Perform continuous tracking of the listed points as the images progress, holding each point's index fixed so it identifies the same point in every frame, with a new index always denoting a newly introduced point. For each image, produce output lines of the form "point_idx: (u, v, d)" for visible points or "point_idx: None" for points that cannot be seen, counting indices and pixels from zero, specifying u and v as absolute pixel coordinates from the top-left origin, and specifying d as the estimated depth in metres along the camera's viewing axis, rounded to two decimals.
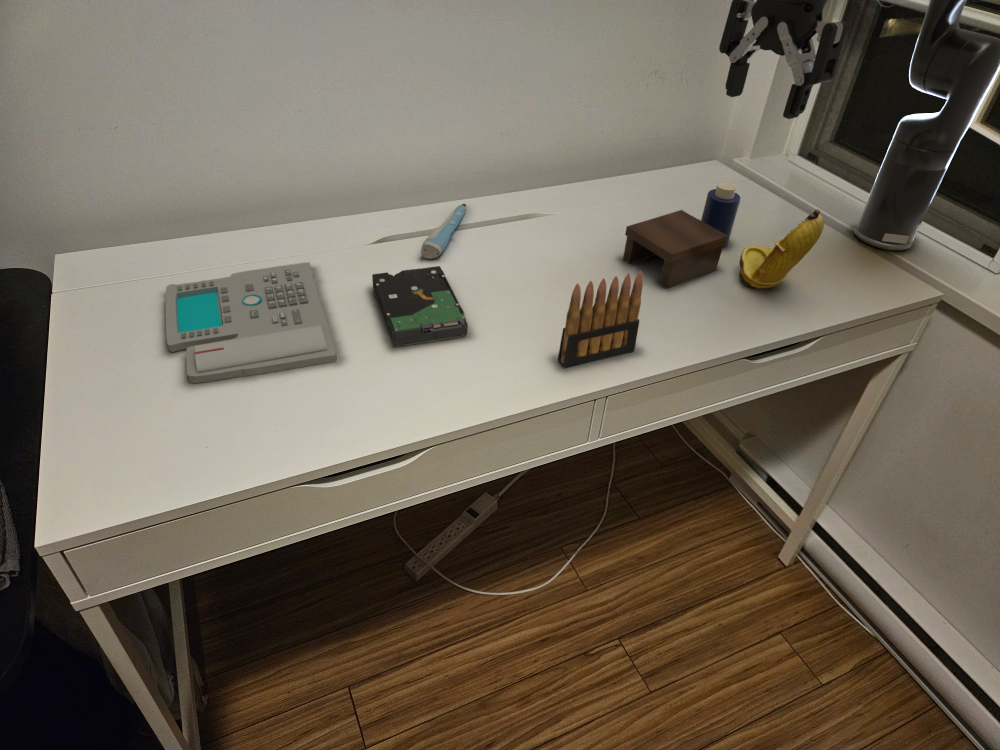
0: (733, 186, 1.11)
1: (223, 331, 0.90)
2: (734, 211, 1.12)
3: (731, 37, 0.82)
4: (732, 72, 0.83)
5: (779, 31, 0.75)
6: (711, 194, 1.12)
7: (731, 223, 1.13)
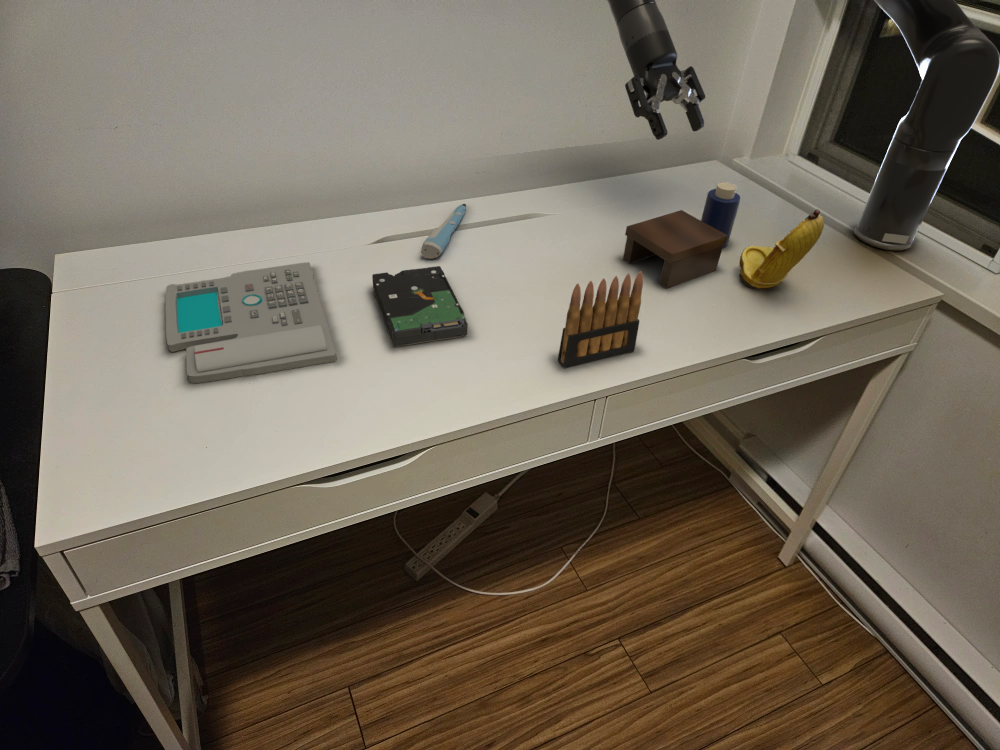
0: (733, 186, 1.11)
1: (222, 331, 0.90)
2: (734, 211, 1.12)
3: None
4: None
5: None
6: (711, 194, 1.12)
7: (731, 223, 1.13)
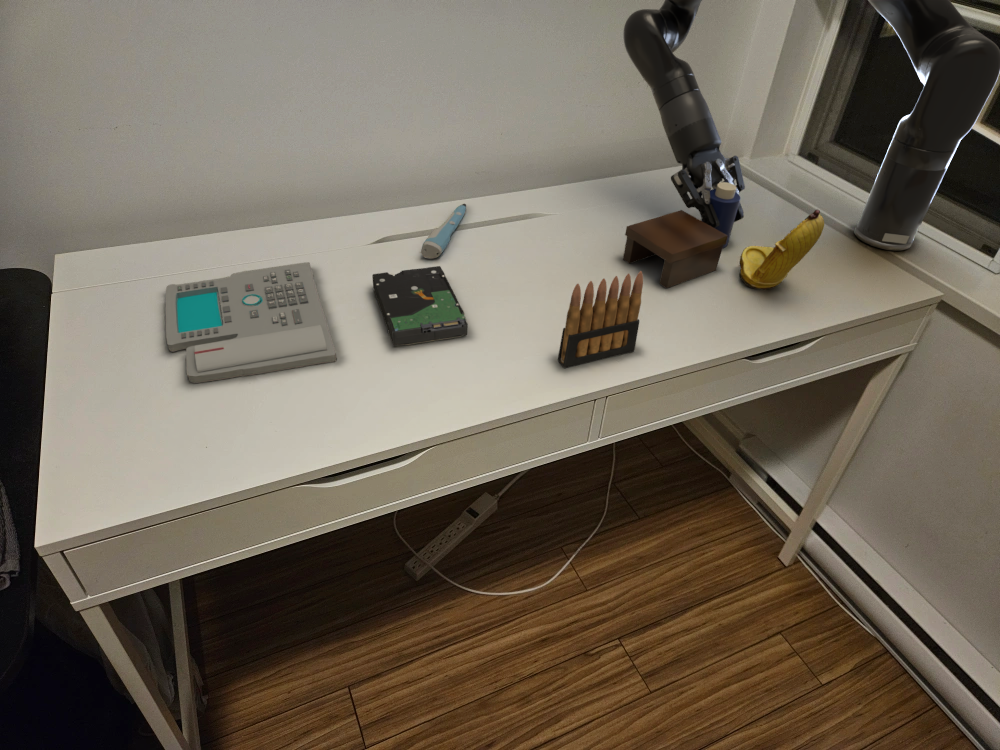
0: (733, 186, 1.11)
1: (222, 331, 0.90)
2: (734, 211, 1.12)
3: None
4: None
5: None
6: (711, 194, 1.12)
7: (731, 223, 1.13)
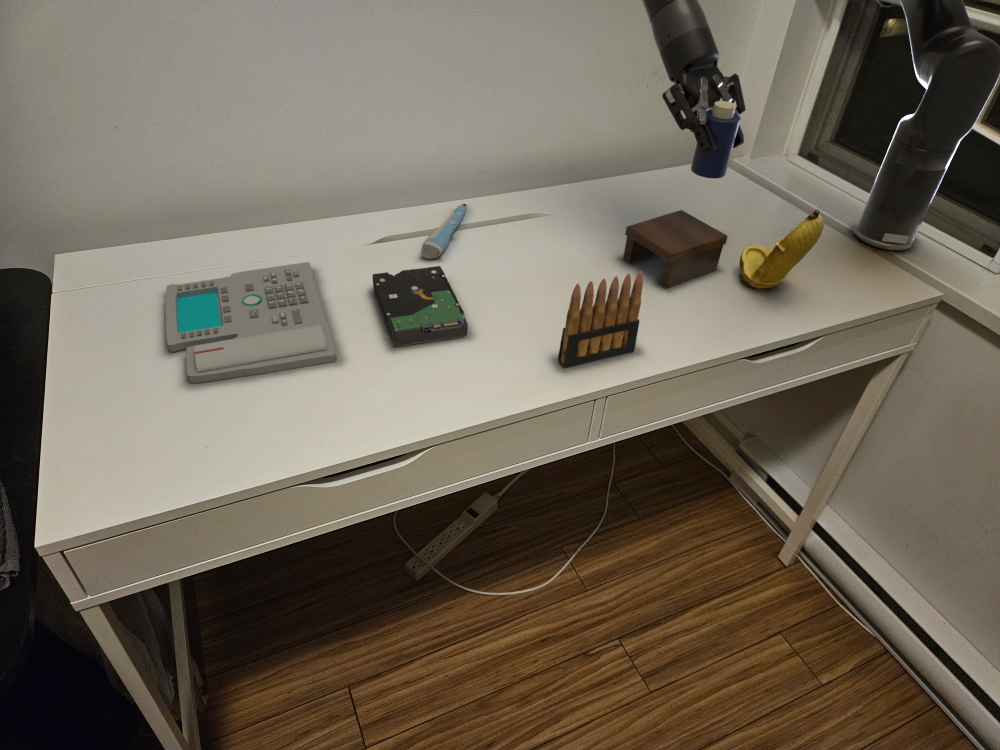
0: (732, 104, 0.99)
1: (222, 331, 0.90)
2: (733, 132, 0.99)
3: None
4: None
5: None
6: (707, 114, 1.00)
7: (730, 148, 1.01)
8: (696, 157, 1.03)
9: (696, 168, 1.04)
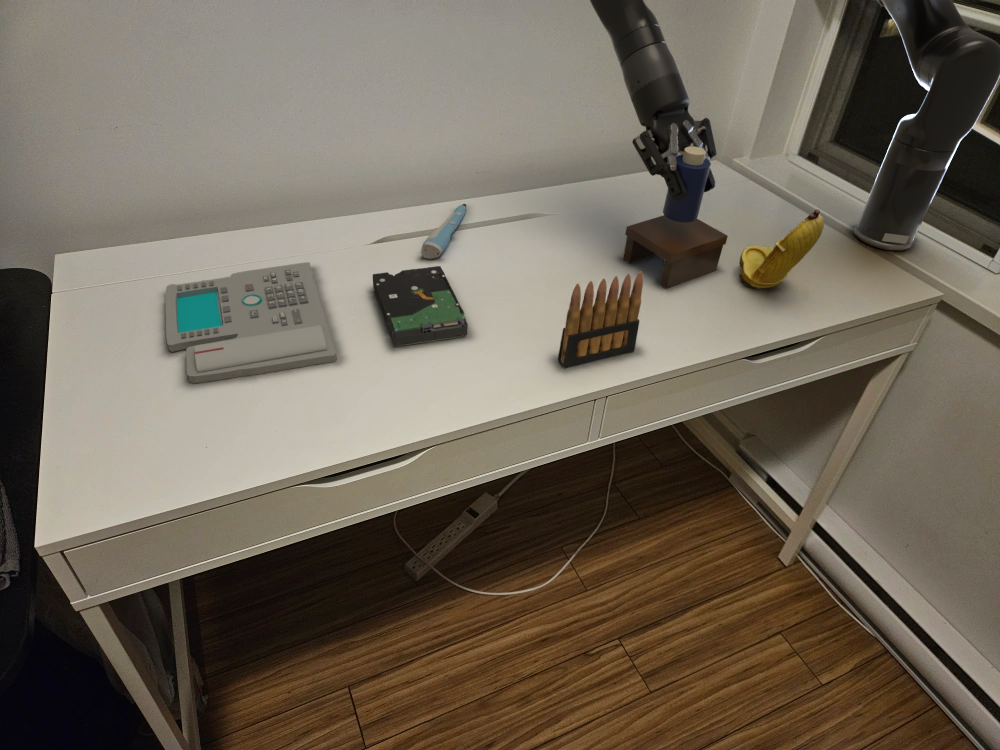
0: (702, 150, 0.99)
1: (222, 331, 0.90)
2: (703, 178, 0.99)
3: None
4: None
5: None
6: (678, 159, 1.00)
7: (700, 193, 1.01)
8: (668, 202, 1.03)
9: (667, 212, 1.04)
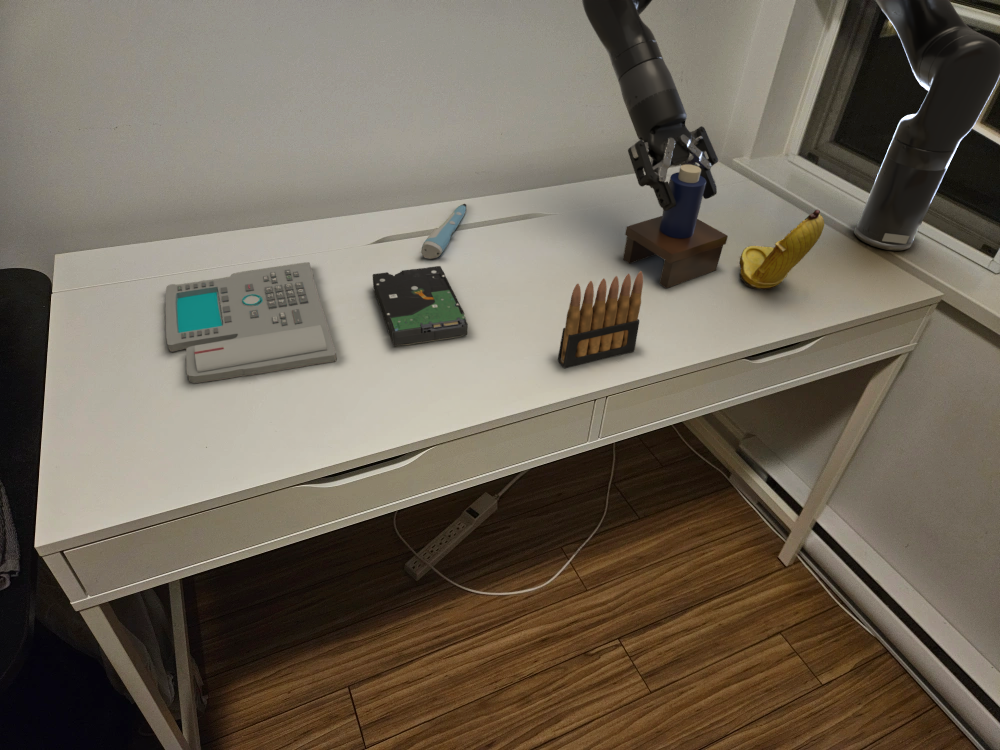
0: (698, 168, 1.01)
1: (222, 331, 0.90)
2: (698, 196, 1.01)
3: None
4: None
5: None
6: (673, 177, 1.02)
7: (696, 210, 1.03)
8: (664, 218, 1.05)
9: (664, 228, 1.05)
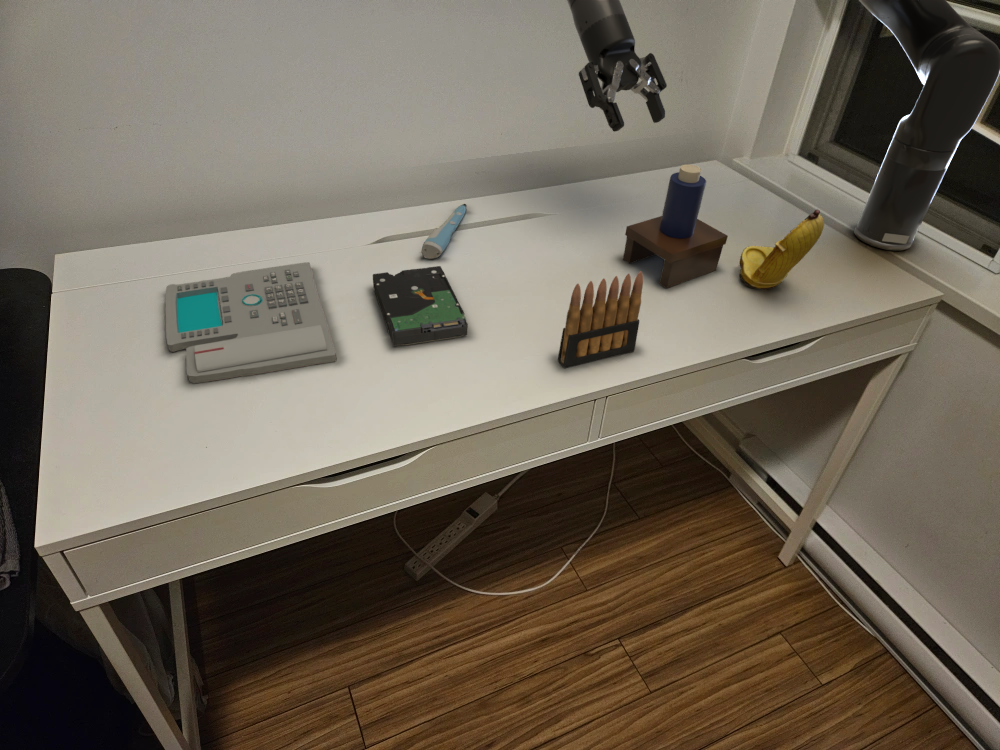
0: (698, 168, 1.01)
1: (222, 331, 0.90)
2: (698, 196, 1.01)
3: None
4: None
5: None
6: (673, 177, 1.02)
7: (696, 210, 1.03)
8: (664, 218, 1.05)
9: (664, 228, 1.05)
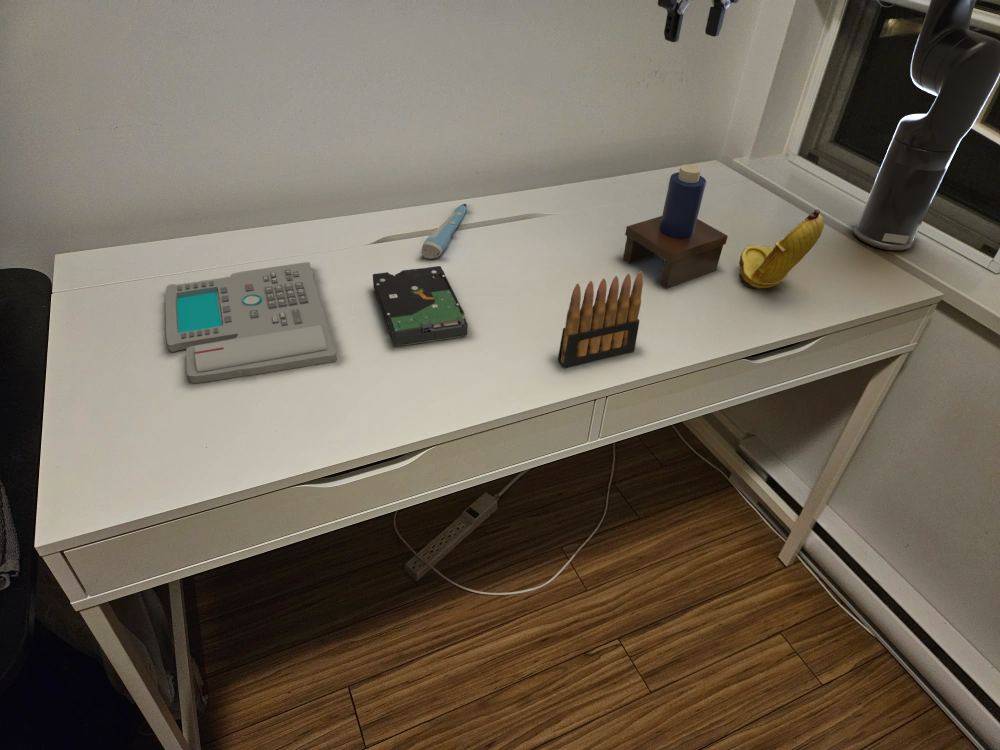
0: (698, 168, 1.01)
1: (222, 331, 0.90)
2: (698, 196, 1.01)
3: None
4: None
5: None
6: (673, 177, 1.02)
7: (696, 210, 1.03)
8: (664, 218, 1.05)
9: (664, 228, 1.05)
